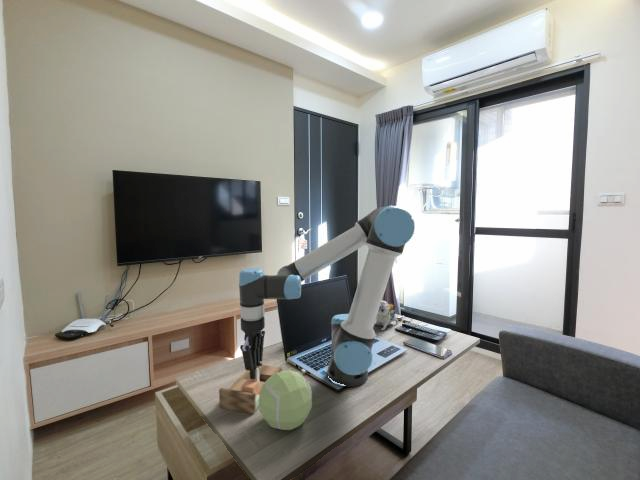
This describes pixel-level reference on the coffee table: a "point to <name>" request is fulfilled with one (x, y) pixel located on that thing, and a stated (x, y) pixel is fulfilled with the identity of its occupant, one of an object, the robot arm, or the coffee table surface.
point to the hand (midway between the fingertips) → (254, 386)
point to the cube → (251, 386)
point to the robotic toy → (386, 315)
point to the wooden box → (245, 400)
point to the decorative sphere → (285, 400)
